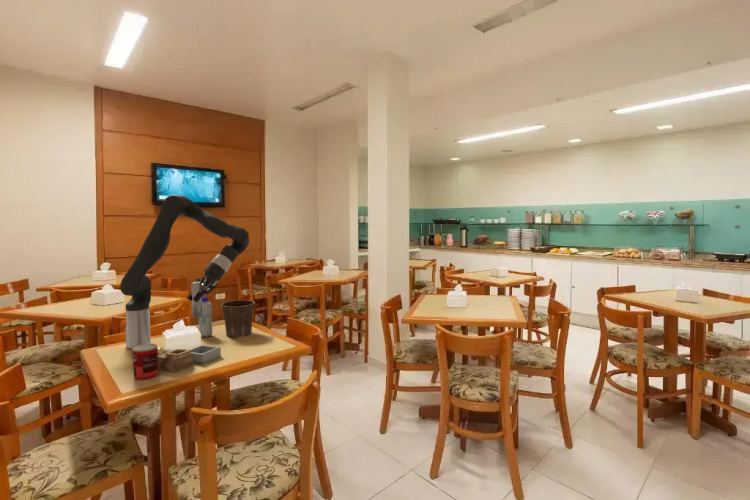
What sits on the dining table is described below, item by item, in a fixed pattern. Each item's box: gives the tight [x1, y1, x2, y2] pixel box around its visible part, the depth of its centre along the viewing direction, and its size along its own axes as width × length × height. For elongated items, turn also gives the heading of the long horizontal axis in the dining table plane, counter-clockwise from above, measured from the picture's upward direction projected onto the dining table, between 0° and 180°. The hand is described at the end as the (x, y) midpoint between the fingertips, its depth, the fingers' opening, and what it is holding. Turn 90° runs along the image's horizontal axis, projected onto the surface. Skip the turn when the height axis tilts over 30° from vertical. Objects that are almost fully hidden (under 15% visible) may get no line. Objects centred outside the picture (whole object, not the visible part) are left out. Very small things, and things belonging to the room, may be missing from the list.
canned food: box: [132, 343, 159, 381], centre depth 142 cm, size 8×8×11 cm
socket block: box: [158, 348, 194, 374], centre depth 151 cm, size 16×8×6 cm, turn 70°
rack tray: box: [190, 344, 222, 365], centre depth 159 cm, size 10×10×4 cm
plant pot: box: [220, 299, 256, 338], centre depth 195 cm, size 16×16×16 cm
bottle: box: [198, 296, 213, 338], centre depth 192 cm, size 7×7×20 cm
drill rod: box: [190, 281, 203, 319], centre depth 157 cm, size 4×4×14 cm
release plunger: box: [157, 347, 164, 355], centre depth 153 cm, size 3×3×6 cm
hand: (192, 300), depth 155 cm, fingers closed on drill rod, 3 cm apart
